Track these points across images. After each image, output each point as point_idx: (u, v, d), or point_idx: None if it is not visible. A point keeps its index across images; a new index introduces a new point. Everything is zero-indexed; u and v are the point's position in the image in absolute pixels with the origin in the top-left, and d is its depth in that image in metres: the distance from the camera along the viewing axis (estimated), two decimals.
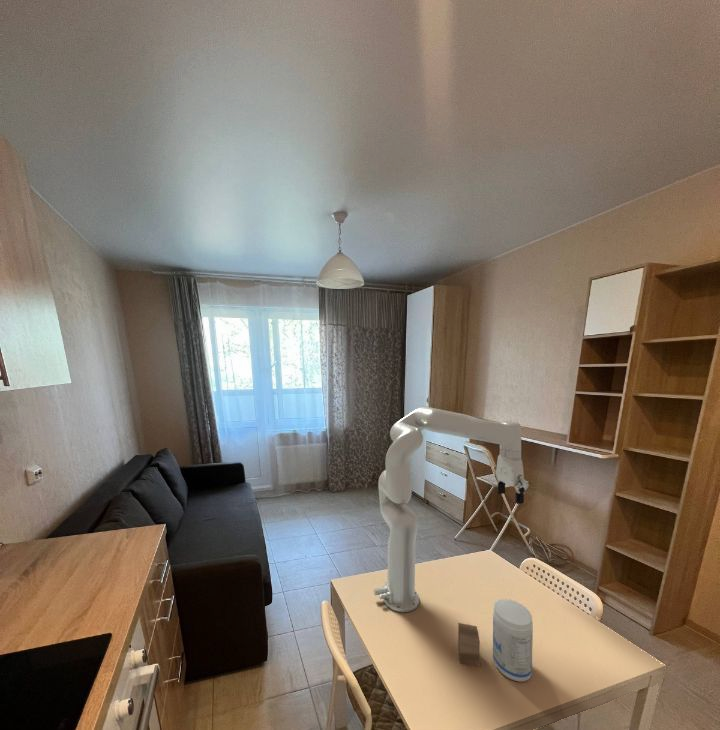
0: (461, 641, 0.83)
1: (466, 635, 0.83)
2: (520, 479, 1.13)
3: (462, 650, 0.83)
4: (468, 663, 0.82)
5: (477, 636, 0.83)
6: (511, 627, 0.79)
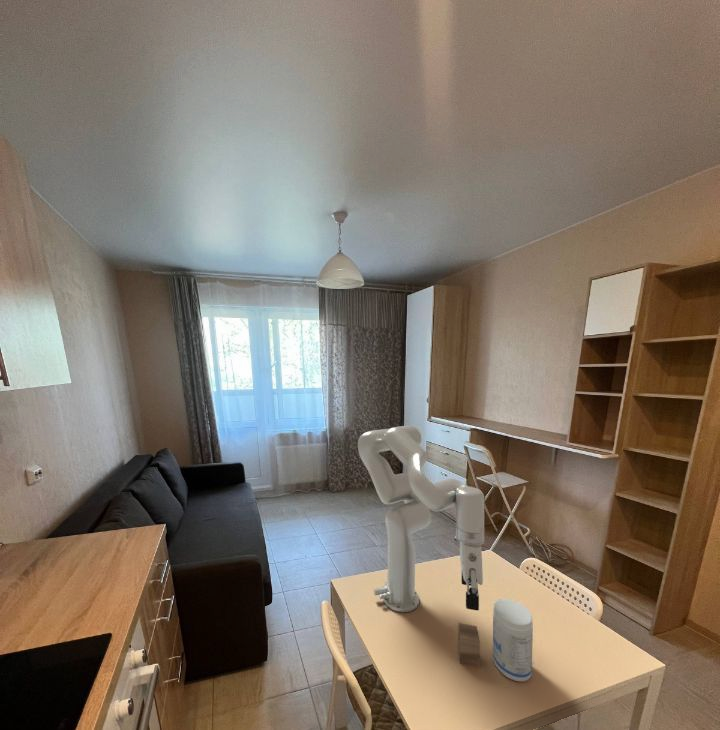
0: (461, 641, 0.83)
1: (466, 635, 0.84)
2: None
3: (462, 650, 0.83)
4: (468, 663, 0.82)
5: (477, 636, 0.83)
6: (511, 627, 0.79)
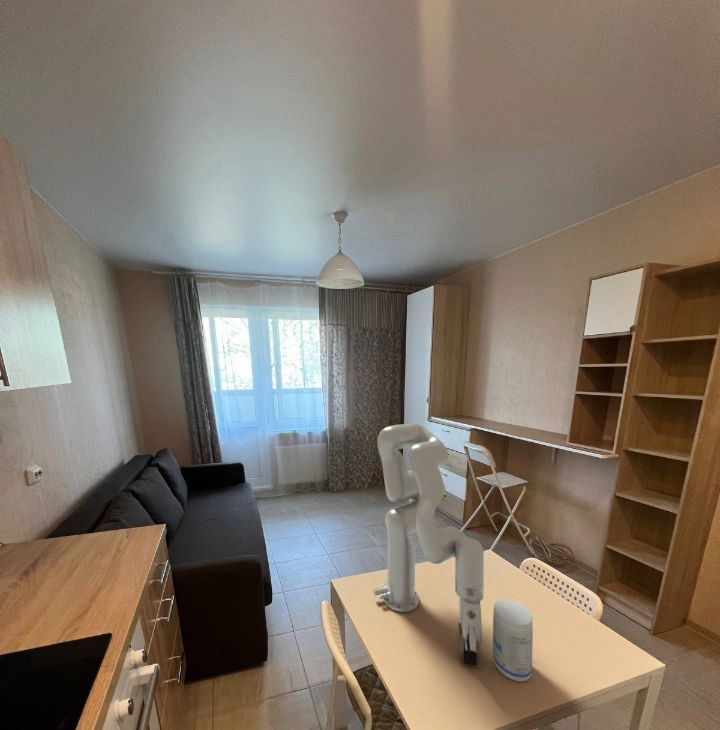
0: (461, 641, 0.83)
1: None
2: None
3: (463, 650, 0.83)
4: None
5: None
6: (511, 627, 0.79)
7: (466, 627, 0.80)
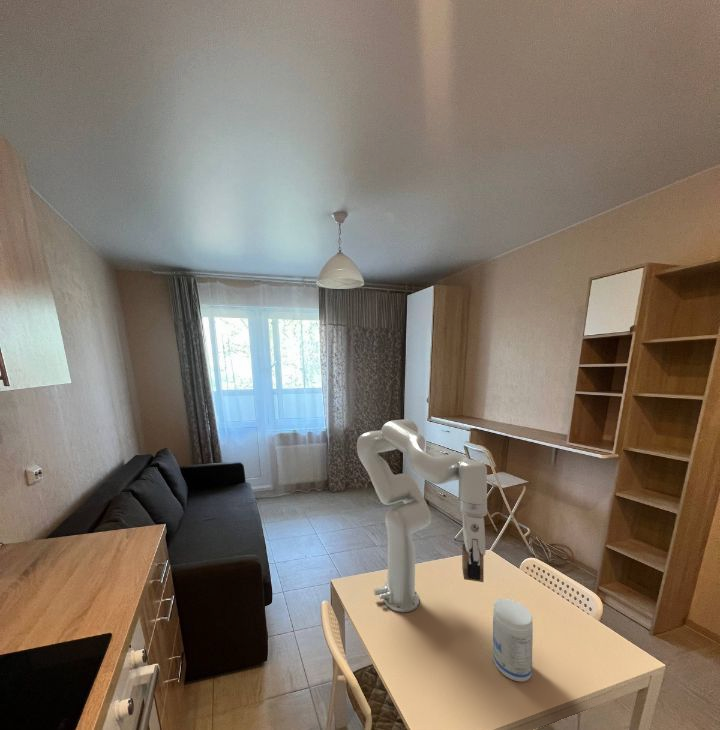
0: (465, 557, 0.83)
1: None
2: None
3: (466, 566, 0.83)
4: None
5: None
6: (511, 627, 0.79)
7: (470, 540, 0.81)
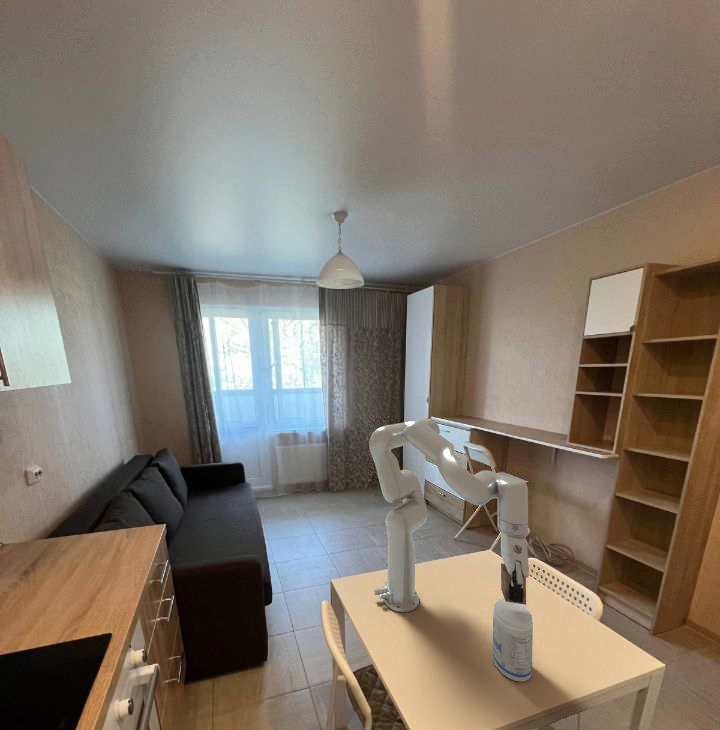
0: (506, 578, 0.81)
1: None
2: None
3: (508, 588, 0.81)
4: None
5: (522, 573, 0.82)
6: (511, 627, 0.79)
7: (512, 562, 0.79)
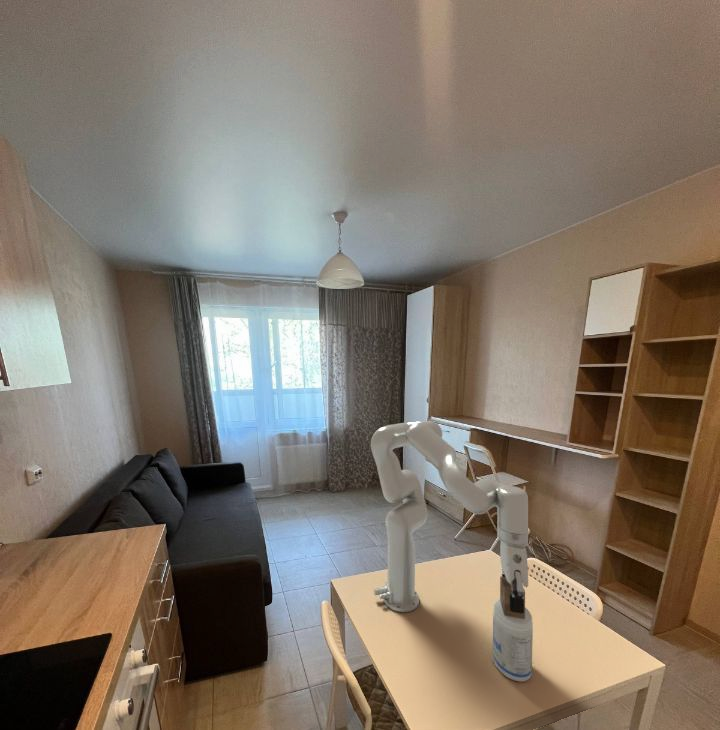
0: (505, 592, 0.81)
1: None
2: None
3: (507, 601, 0.81)
4: (513, 614, 0.80)
5: None
6: (511, 627, 0.79)
7: (512, 572, 0.79)
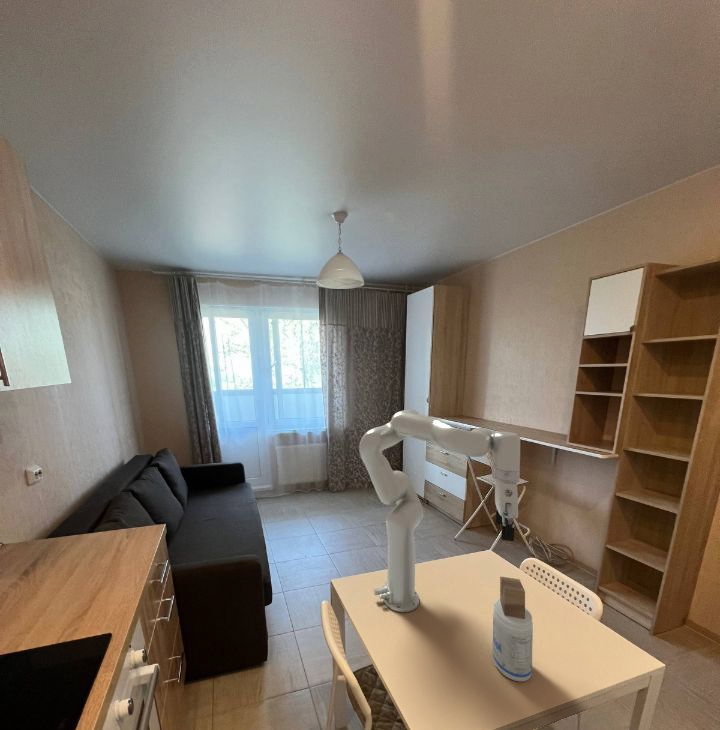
0: (505, 592, 0.81)
1: (510, 586, 0.82)
2: None
3: (507, 601, 0.81)
4: (513, 614, 0.80)
5: (522, 587, 0.82)
6: (511, 626, 0.79)
7: (503, 504, 0.87)
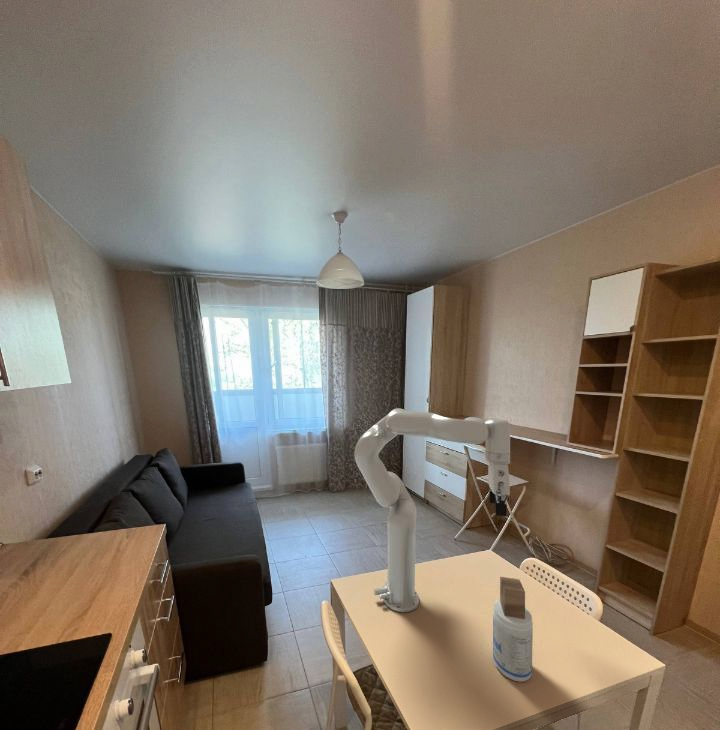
0: (505, 592, 0.81)
1: (510, 587, 0.82)
2: None
3: (507, 602, 0.81)
4: (513, 614, 0.80)
5: (522, 587, 0.82)
6: (511, 627, 0.79)
7: (496, 483, 0.97)
